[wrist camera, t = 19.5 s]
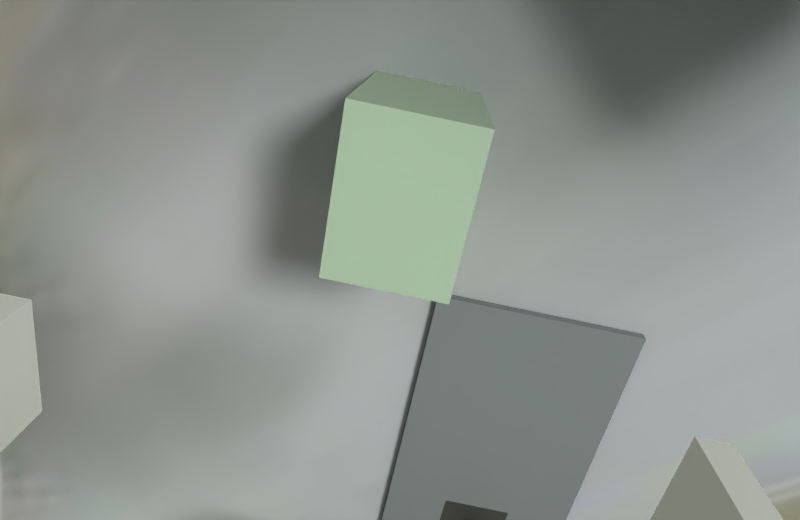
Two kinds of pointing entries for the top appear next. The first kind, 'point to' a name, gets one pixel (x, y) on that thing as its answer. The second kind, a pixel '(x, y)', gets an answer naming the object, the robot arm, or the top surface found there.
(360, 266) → the pale green block
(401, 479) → the plate
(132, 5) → the top surface
